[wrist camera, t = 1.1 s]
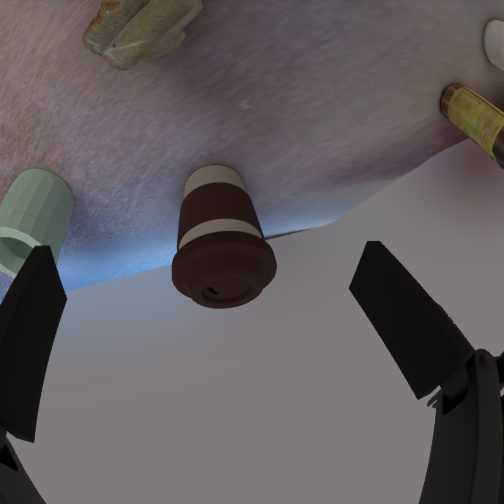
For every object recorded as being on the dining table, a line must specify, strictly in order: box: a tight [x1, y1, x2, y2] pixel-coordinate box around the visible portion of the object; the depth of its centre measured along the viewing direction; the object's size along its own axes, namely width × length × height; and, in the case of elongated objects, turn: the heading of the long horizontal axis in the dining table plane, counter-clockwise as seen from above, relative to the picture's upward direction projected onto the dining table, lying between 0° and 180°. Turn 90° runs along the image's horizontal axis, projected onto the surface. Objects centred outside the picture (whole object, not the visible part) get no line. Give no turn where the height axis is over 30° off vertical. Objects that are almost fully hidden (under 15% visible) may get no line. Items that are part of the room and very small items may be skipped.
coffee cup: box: [172, 165, 277, 309], centre depth 30 cm, size 10×10×15 cm
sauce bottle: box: [441, 84, 504, 169], centre depth 21 cm, size 6×6×20 cm
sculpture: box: [81, 0, 203, 71], centre depth 12 cm, size 6×7×15 cm
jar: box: [0, 168, 74, 279], centre depth 26 cm, size 10×10×10 cm
